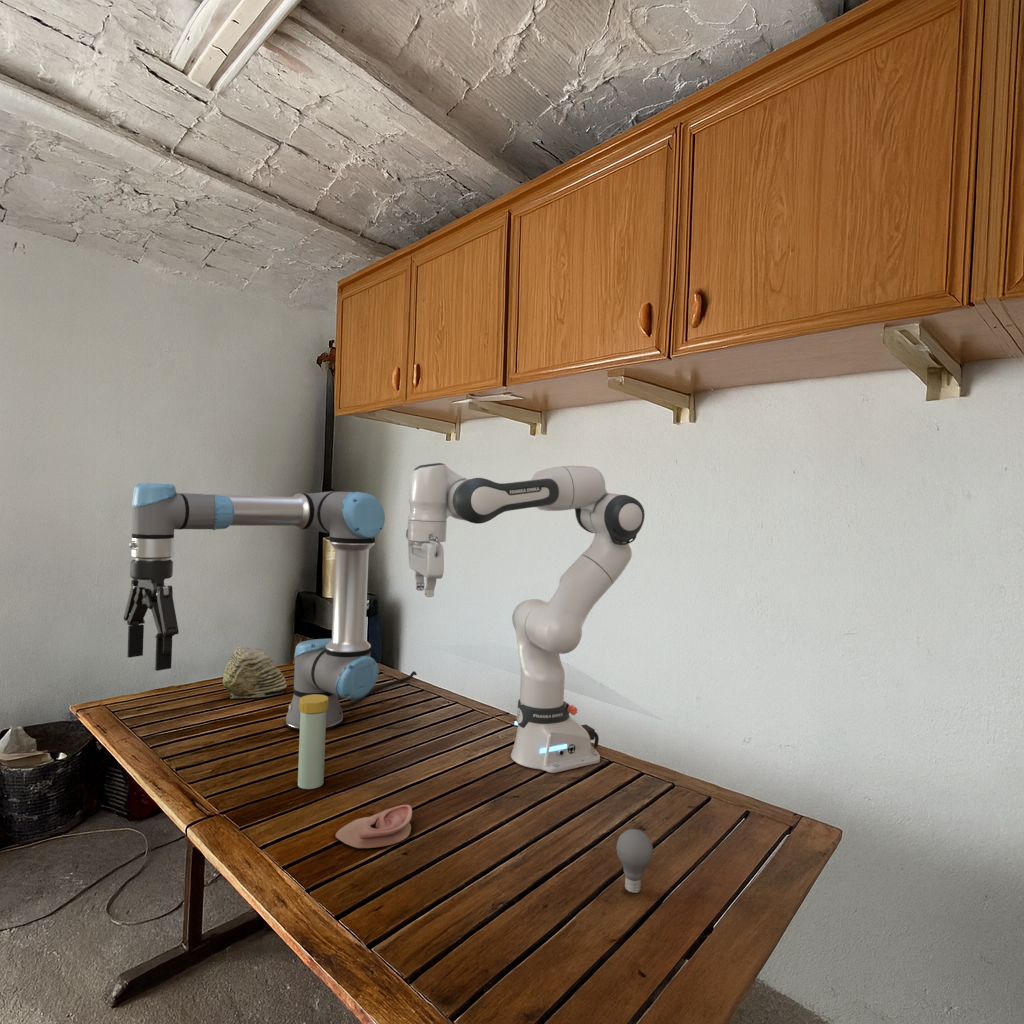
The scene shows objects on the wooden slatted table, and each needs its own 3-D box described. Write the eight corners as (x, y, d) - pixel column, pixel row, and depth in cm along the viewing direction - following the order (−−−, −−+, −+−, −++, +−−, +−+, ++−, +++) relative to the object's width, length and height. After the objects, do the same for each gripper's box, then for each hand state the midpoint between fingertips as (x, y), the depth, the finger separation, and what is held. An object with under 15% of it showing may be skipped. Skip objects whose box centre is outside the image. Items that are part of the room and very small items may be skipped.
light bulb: (610, 879, 108) (613, 822, 108) (644, 879, 109) (647, 822, 109) (619, 902, 102) (622, 840, 102) (655, 901, 103) (658, 840, 103)
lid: (324, 702, 144) (324, 692, 144) (331, 711, 138) (331, 701, 138) (296, 706, 140) (296, 696, 140) (302, 715, 135) (302, 704, 135)
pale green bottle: (320, 776, 143) (323, 695, 143) (326, 786, 139) (329, 702, 138) (295, 780, 141) (298, 698, 140) (300, 791, 136) (303, 705, 136)
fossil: (218, 695, 195) (220, 647, 195) (278, 685, 208) (279, 640, 207) (228, 703, 189) (230, 653, 188) (289, 692, 201) (290, 645, 201)
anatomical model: (328, 822, 116) (356, 794, 127) (327, 843, 116) (355, 813, 127) (396, 832, 113) (418, 803, 124) (395, 855, 113) (418, 823, 124)
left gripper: (108, 554, 134) (104, 654, 134) (159, 565, 118) (155, 678, 119) (146, 552, 140) (143, 648, 140) (199, 563, 124) (195, 671, 124)
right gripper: (452, 536, 137) (449, 600, 137) (430, 531, 156) (427, 587, 156) (423, 536, 134) (420, 601, 135) (404, 530, 154) (402, 587, 154)
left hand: (148, 662), depth 129 cm, fingers open, 13 cm apart
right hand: (424, 593), depth 146 cm, fingers open, 8 cm apart
